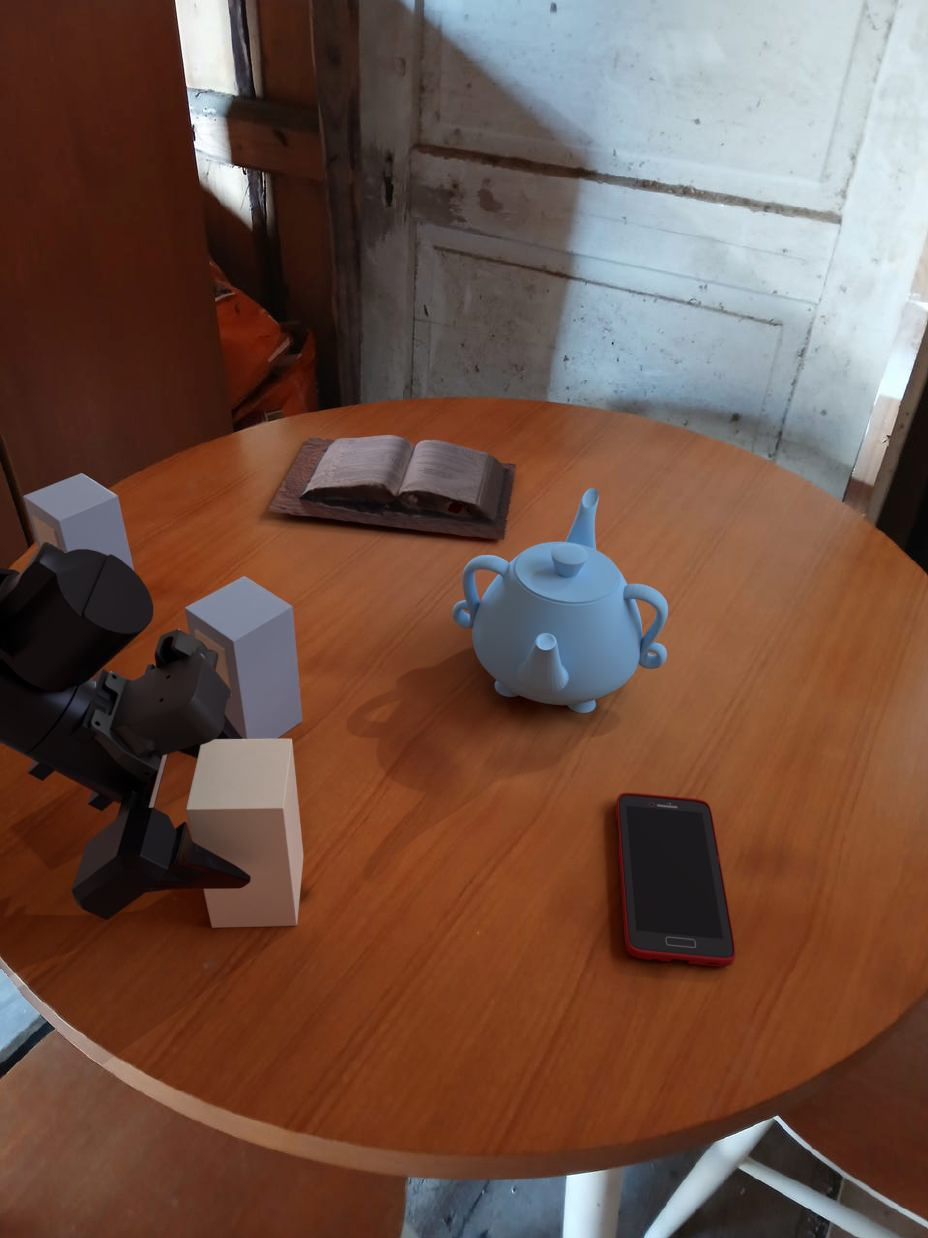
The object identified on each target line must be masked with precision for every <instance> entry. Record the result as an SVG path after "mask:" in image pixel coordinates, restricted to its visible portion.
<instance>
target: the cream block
mask: <svg viewBox="0 0 928 1238" xmlns="http://www.w3.org/2000/svg"><path fill="white" fill-rule="evenodd" d="M294 756H295V755H294V747H293V739H292V738H277V739H214V740H212V741H211V742H208V743H206V744H203V745H200V750H199V754H198V759H197V758H196V763H195V767H194V772H193V776H192V781H191V785H190V790H189V794H188V798H187V803H186V807H185V812H186V817H187V820H188V827H189V831H190V835H191V838H192V841H193V842H194V843H196V844H198V845H200V846H201V847H203V848H205V849H207V850H209V851H210V852H212V853H214V854H216V855H218V856H220V857H221V858H223V859H225V860H227V861H229V862H230V863H232V864H234V865H236V866H237V867H239V868H240V869H242V870H243V871H244V872H246V873H247V874H248V875H250V877H251V880H250V883H249V884H247V885H246V886H244V887H243V888H239V889H203V893H204V897H205V902H206V907H207V912H208V916H209V922H210V926H211V928H212V929H217V928H218V929H219V928H220V929H221V928H253V927H254V928H255V927H256V928H257V927H260V928H261V927H296V926H298V920H299V919H298V918H299V911H300V901H301V900H300V898H301V890H302V889H301V887H302V877H303V866H304V848H303V847H304V846H303V837H302V836H303V835H302V825H301V817H300V816H301V815H300V807H299V797H298V795H299V794H298V786H297V785H298V784H297V777H296V765H295V757H294Z"/></svg>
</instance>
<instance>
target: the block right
mask: <svg viewBox="0 0 928 1238" xmlns="http://www.w3.org/2000/svg"><path fill="white" fill-rule="evenodd" d="M184 612H185V618H186V624H187V629H188V634H189V635H191V636H193V637H195V638H196V639H198V640H200V641H202V642H203V643H204V644H205V646H206V647H207V648H208V649H211V650H215V651H216V652H217V653H218V655H219V657H218V662H217V666H216V672H217V673H218V674H219V675H220V677H221V678H222V679H223V680H224V682H225V683H226V684H227V685H228V687H229V688H230V690H231V695H230V698H229V699H227V703H226V708H225V713H224V714H225V715H226V717H227V718H228V720H229V721H230V723H231V724H232V725H233V727H234V728H235V729H236V731H237V732H238V733H239V735H240V736H241V737H242V738H243V739H280V737H282V736H283V735H285V734H286V733H287V732H289V731H290V730H292V729H294V728H295V727H296V726H298V725H299V724H300V723H302V722H303V711H302V699H301V687H300V678H299V677H300V676H299V665H298V654H297V653H298V651H297V642H296V631H295V630H296V629H295V619H294V608H293V605H291V604H289V603H288V602H286V601H285V600H283V599H281V598H280V597H279V596H277V595H275V594H274V593H273V592H271V591H269V590H267V589H265V588H264V587H263V586H261V585H260V584H258V583H256V582H255V581H253V580H252V579H250V578H248V576H247V577H246V575H243V576H241V577H239V578H238V579H236V580H234V581H232V582H230V583H229V584H227V585H224V586H223V587H221V588H219V589H217V590H215V591H214V592H211V593H210V594H208V595H206V596H203V598H201V599H198V600H196V601H195V602H192V603H190V604H189V605H186V606H185V607H184Z"/></svg>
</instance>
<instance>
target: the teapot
mask: <svg viewBox="0 0 928 1238" xmlns="http://www.w3.org/2000/svg"><path fill="white" fill-rule="evenodd" d="M599 497H600V495H599V491H598V489H597V488H594V487H591V488H588V489H587V490H586V491H585V492H584V494H583V495H582V497H581V500H580V501H579V505H578V509H577V512H576V515H575V518H574V520H573V523H572V525H571V528H570V529H569V531H568V532H569V533H568V534H567V537H566V538H565V541H547V542H542V543H538V544H535V545H533V546H530V547H528V548H526V549H524V550H523V551H522V552H520V553H519V554H518V555H516V556H515V557H514V558H513V559H512V560H510V562H509V561H507V560H506V559H503V558H502V557H500V556H497V555H492V554H482V555H478V556H475V557H473V558H472V559H470V560H469V561H468V562H467V564H466V565H465V567H464V568H463V571H462V575H461V576H462V577H461V583H462V589H463V595H464V599H462V600H459V601H457V602H456V604H455V605H454V606H453V608H452V613H451V614H452V615H451V616H452V619H453V621H454V622H455V623H456V624H457V625H458V626H459V627H461V628H463V629H467V630H470V629H472V633H471V640H472V641H471V642H472V646H473V649H474V652H475V655H476V657H477V659H478V661H479V663H480V664H481V666H482V667H483V668H484V669H485V671H487V673H488V674H489V675H490V676H491V677H492V678H493V679H494V680H495V682H494V690H495V691H496V693H498V694H499V695H501V696H504V697H507V698H508V697H509V698H512V697H518V696H520V697H522V698H525V699H528V700H530V701H534V702H537V703H542V704H548V705H556V706H567V707H568V708H569V709H570V710H571V711H573V712H575V713H580V714H587V713H591V712H592V711H594V710H595V708H596V706H597V703H596V700H598V699H600V698H603V697H605V696H607V695H610V694H611V693H613V692H615V691H617V690H618V689H620V688H622V687H623V686H624V685H625V684H626V683H627V682H628V681H629V680H630V678H632V676H633V675H634V673H635V672H636V671H637V670H638V667H639V666H640V667H642V668H644V669H647V670H655V669H658V668H661V667H662V666H663V665H664V664H665V662H666V660H667V657H668V652H667V648H666V647H665V646H664V645H663V644H662V643H659V642H655V641H656V640H657V638H658V637H659V635H660V634H661V632H662V630H663V629H664V627H665V625H666V622H667V620H668V616H669V615H668V614H669V606H668V602H667V600H666V598H665V597H664V595H663V594H662V593H661V592H660V591H658V590H657V589H656V588H653V587H652V586H650V585H646V584H643V583H629V584H628V582H627V580H626V579H625V577H624V575H623V573H622V571H621V570H619V568H618V566H617V565H616V564H615V562H614V561H612V559H610V558H609V557H608V556H607V555H605V554H604V553H602V552H601V551H599V550H597V543H596V529H595V527H596V525H595V524H596V513H597V508H598V505H599ZM480 570H483V571H485V570H486V571H491V572H493V573H495V574H497V575H496V577H495V578H494V579H493V581H492V582H491V583H490V584H489V586H488V587H487V589H486V590H485V592H484V593H483V596H482V598H481V600H480V597H479V594H478V590H477V585H476V580H475V579H476V578H475V573H476V571H480ZM636 600H638V601H642V602H644V603H647V604H649V605H650V606H652V607H653V608H654V610H655V617H654V620H653V622H652V624H651V625H650V627H649V628H648V629H647V631H646V633H645V634H644V635H643V625H642V618H641V613H640V609H639V607H638V604H637V601H636ZM464 610H465V611H468V613H467V612H465V611H464ZM649 652H650V653H649ZM651 653H654V654H651Z"/></svg>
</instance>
